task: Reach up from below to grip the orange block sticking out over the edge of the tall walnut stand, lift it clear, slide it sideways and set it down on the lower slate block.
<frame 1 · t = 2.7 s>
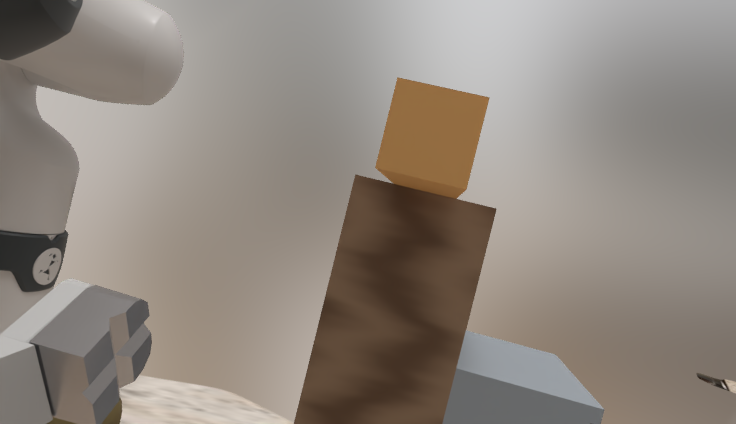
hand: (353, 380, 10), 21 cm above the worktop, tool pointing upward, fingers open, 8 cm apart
orange block: (425, 193, 33), point 26 cm above the worktop, touching walnut stand
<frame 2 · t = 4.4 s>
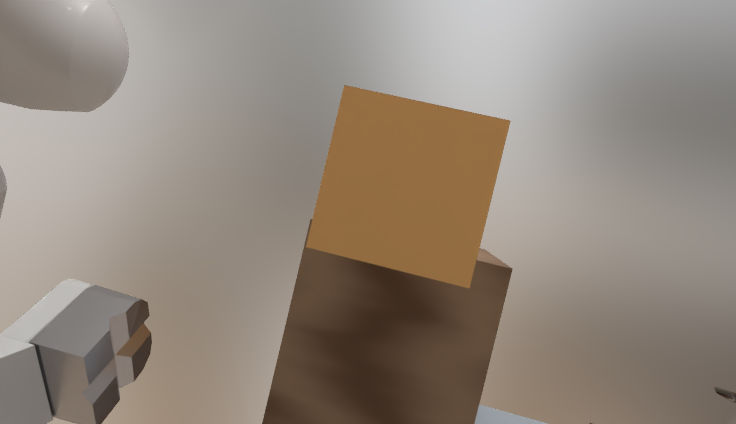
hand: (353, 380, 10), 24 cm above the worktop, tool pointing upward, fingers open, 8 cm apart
orange block: (411, 241, 23), point 26 cm above the worktop, touching walnut stand
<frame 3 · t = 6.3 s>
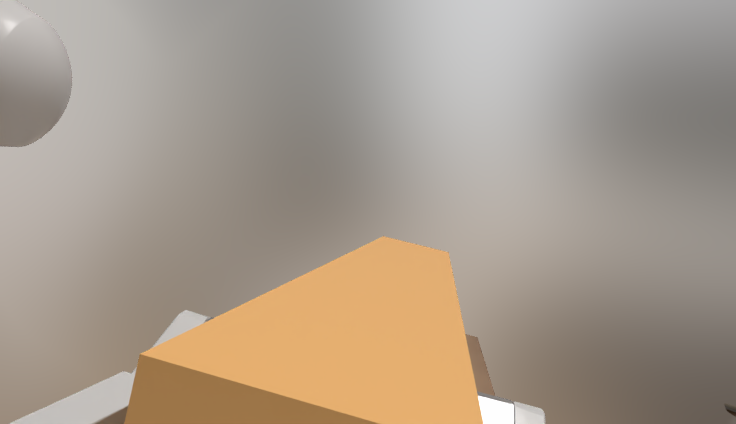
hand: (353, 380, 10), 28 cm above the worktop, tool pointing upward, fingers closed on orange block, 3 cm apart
orange block: (373, 377, 17), point 26 cm above the worktop, touching gripper, walnut stand
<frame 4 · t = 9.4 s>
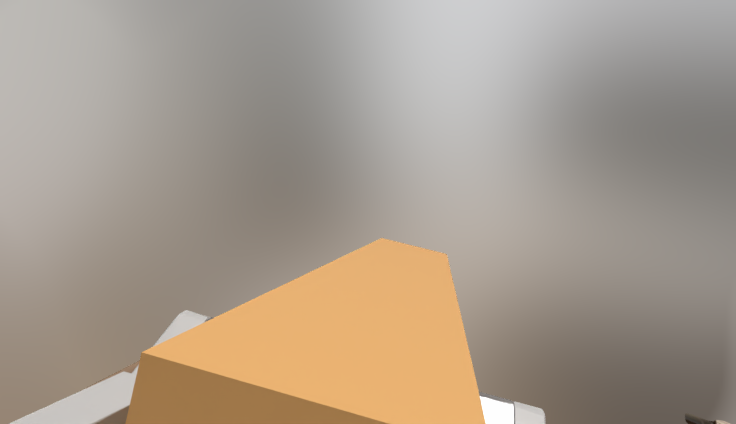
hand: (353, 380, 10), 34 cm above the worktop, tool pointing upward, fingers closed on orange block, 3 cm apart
orange block: (371, 378, 17), point 31 cm above the worktop, touching gripper
when the fingers open (21 cm above the worktop, at t = 12.4 s): orange block drops 2 cm, resting on slate block.
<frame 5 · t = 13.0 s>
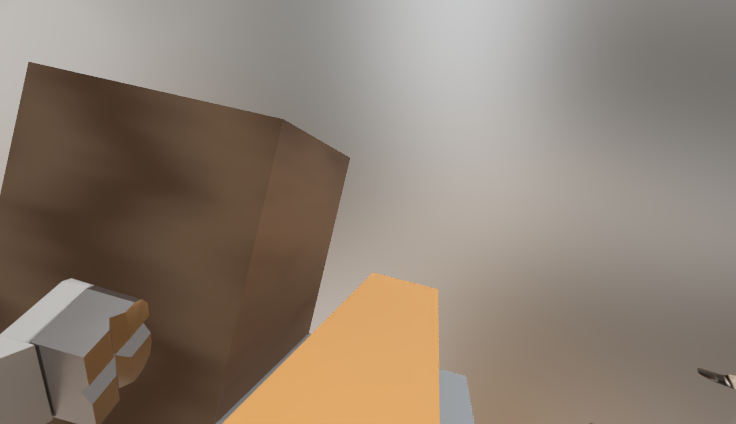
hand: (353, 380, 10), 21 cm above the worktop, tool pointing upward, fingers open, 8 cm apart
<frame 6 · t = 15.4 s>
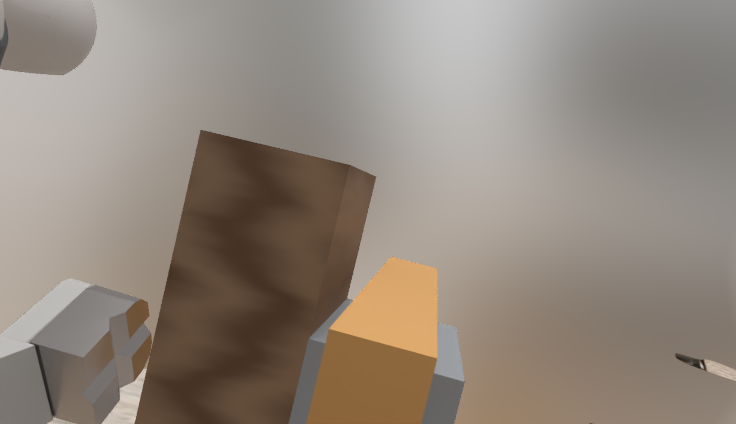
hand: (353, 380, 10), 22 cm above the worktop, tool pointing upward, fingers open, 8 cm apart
orange block: (389, 350, 29), point 17 cm above the worktop, touching slate block
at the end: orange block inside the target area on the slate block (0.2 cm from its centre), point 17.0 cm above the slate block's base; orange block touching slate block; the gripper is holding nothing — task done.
